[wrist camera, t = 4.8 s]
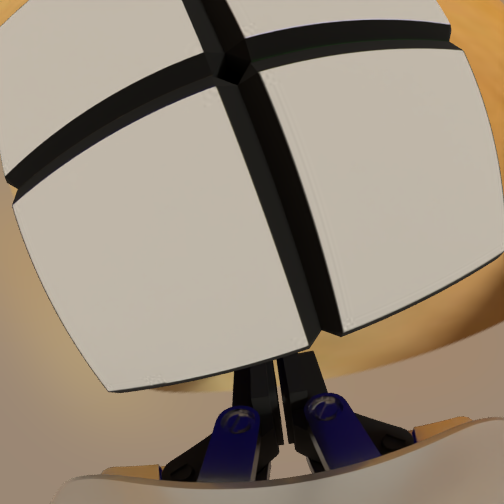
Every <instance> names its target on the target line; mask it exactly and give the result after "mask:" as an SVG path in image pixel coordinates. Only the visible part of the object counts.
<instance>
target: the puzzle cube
mask: <svg viewBox="0 0 504 504" xmlns="http://www.w3.org/2000/svg"><path fill="white" fill-rule="evenodd" d="M450 35H451V25H450V23H449V21H448V19H447V17H446V16H445V14H444V12H443V11H442V9H441V7H440V6H439V4H438V3H437V1H436V0H29V1H27V2H26V3H25V4H24V5H23V6H22V7H21V8H19V9H18V10H17V11H16V12H15V13H14V14H13V15H12V16H11V17H10V18H9V19H8V20H7V21H6V22H5V23H4V24H3V25H2V26H1V27H0V156H1V161H2V166H3V171H4V176H5V179H6V181H7V183H9V184H10V185H12V186H14V187H16V188H17V189H18V190H17V193H16V196H15V199H14V201H13V205H12V208H13V211H14V214H15V217H16V221H17V223H18V227H19V230H20V232H21V235H22V238H23V241H24V243H25V246H26V249H27V251H28V253H29V256H30V259H31V261H32V263H33V266H34V268H35V270H36V273H37V275H38V277H39V279H40V281H41V284H42V286H43V288H44V290H45V292H46V294H47V296H48V298H49V300H50V301H51V304H52V306H53V307H54V309H55V311H56V313H57V315H58V316H59V318H60V320H61V322H62V324H63V326H64V327H65V329H66V331H67V332H68V334H69V336H70V337H71V339H72V341H73V342H74V344H75V345H76V347H77V348H78V350H79V351H80V353H81V355H82V356H83V358H84V359H85V361H86V362H87V363H88V365H89V366H90V368H91V369H92V371H93V372H94V374H95V375H96V376H97V378H98V379H99V380H100V381H101V383H102V384H103V386H104V387H105V388H106V390H107V391H108V392H115V393H124V392H131V391H138V390H145V389H151V388H158V387H163V386H169V385H174V384H179V383H185V382H189V381H194V380H199V379H203V378H208V377H212V376H216V375H221V374H225V373H229V372H233V371H237V370H240V369H244V368H248V367H251V366H255V365H259V364H262V363H265V362H269V361H272V360H276V359H279V358H282V357H285V356H288V355H291V354H294V353H298V352H301V351H304V350H306V349H309V348H310V347H311V345H312V344H313V342H314V341H315V339H316V338H317V336H318V335H319V333H320V332H321V330H323V331H326V332H329V333H331V334H334V335H337V336H340V337H342V336H345V335H347V334H350V333H352V332H355V331H357V330H360V329H362V328H365V327H367V326H370V325H372V324H374V323H377V322H379V321H381V320H383V319H386V318H388V317H390V316H392V315H395V314H397V313H399V312H401V311H403V310H405V309H407V308H410V307H412V306H414V305H416V304H418V303H420V302H422V301H424V300H426V299H428V298H430V297H432V296H434V295H435V294H437V293H439V292H441V291H443V290H445V289H447V288H449V287H450V286H452V285H454V284H456V283H458V282H459V281H461V280H463V279H465V278H466V277H468V276H470V275H471V274H473V273H475V272H476V271H478V270H480V269H481V268H483V267H485V266H486V265H488V264H489V263H491V262H493V261H494V260H496V259H497V258H498V257H499V256H500V255H501V254H502V253H503V252H504V196H503V187H502V180H501V173H500V167H499V161H498V156H497V151H496V146H495V142H494V137H493V133H492V129H491V125H490V122H489V118H488V115H487V111H486V108H485V105H484V102H483V98H482V95H481V93H480V90H479V87H478V84H477V82H476V79H475V76H474V74H473V71H472V69H471V66H470V64H469V62H468V59H467V57H466V55H465V53H464V51H463V50H462V49H460V48H458V47H457V46H455V45H454V44H452V43H450V42H449V39H450Z"/></svg>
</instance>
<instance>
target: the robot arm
mask: <svg viewBox="0 0 504 504" xmlns="http://www.w3.org/2000/svg"><path fill="white" fill-rule="evenodd" d="M277 366H278V373H279V380H280V387H281V393H282V401H283V407H284V414H285V421H286V428H287V435H288V442H289V444H291V443H294V445H295V450H296V451H297V452H299V453H300V454H303V455H304V456H306V459H307V462H308V465H309V467H310V470H311V472H312V474H309V475H303V476H296V477H290V478H283V479H274V480H269V477H270V469H271V460H273V459H274V457H276V456H277V455H278V454H279V445H284V440H283V432H282V425H281V416H280V409H279V402H278V394H277V385H276V378H275V372H274V365H273V360H272V361H269V362H265V363H262V364H259V365H255V366H251V367H248V368H244V369H240V370H237V371H234V384H233V403H232V407H230V408H228V409H226V410H224V411H223V412H222V413H221V414H220V415H219V416H218V418H217V420H216V423H215V426H214V430H213V433H212V434H211V435H209V436H208V437H207V438H205V439H204V440H202V441H201V442H199V443H198V444H196V445H195V446H194V447H192V448H191V449H189V450H187V451H186V452H184V453H183V454H181V455H180V456H178V457H177V458H175V459H174V460H172V461H170V462H169V463H168V464H167V465H166V466H162V467H160V466H159V465H158V464H157V465H145V466H127V467H110V468H107V469H105V470H104V471H103V472H102V473H101V474H99V475H87V476H80V477H76V478H72V479H70V480H68V481H66V482H65V483H64V484H62V486H61V487H60V488H59V489H58V491H57V492H56V494H55V495H54V497H53V499H52V501H51V503H50V504H504V417H488V418H483V419H478V420H471V419H470V418H469V417H464V416H462V417H456V418H452V419H448V420H444V421H440V422H436V423H432V424H427V425H423V426H418V427H414V429H413V430H410V431H407V430H405V429H403V428H400V427H397V426H393V425H390V424H386V423H384V422H380V421H377V420H374V419H371V418H368V417H365V416H362V415H359V414H356V413H354V412H353V411H352V409H351V408H350V406H349V404H348V403H347V401H346V400H345V399H344V398H343V397H342V396H340V395H338V394H334V393H328V392H327V389H326V386H325V383H324V380H323V377H322V374H321V371H320V368H319V365H318V362H317V359H316V357H315V354H314V351H309V352H304V353H294V354H291V355H288V356H285V357H282V358H279V359H277Z"/></svg>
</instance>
